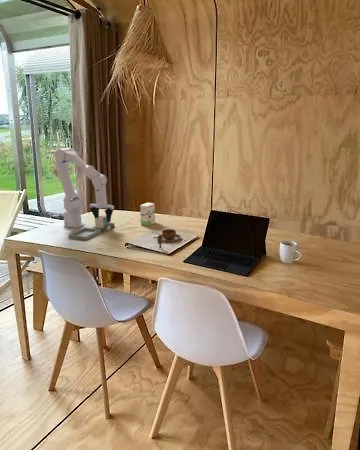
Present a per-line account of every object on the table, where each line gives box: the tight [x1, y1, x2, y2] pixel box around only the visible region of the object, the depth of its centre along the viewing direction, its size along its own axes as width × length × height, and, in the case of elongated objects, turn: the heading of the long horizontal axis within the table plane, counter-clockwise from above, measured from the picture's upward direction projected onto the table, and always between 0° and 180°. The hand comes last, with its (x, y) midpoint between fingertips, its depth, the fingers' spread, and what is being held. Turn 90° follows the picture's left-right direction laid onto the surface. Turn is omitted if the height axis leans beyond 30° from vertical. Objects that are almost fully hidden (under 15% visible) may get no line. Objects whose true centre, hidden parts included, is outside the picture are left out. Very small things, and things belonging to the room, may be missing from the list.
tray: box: [68, 227, 102, 241], centre depth 194 cm, size 11×14×2 cm
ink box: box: [139, 202, 156, 227], centre depth 212 cm, size 9×5×12 cm, turn 153°
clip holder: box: [91, 222, 115, 233], centre depth 206 cm, size 7×12×2 cm, turn 157°
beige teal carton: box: [94, 214, 112, 228], centre depth 205 cm, size 4×9×7 cm, turn 157°
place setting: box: [157, 228, 182, 249], centre depth 183 cm, size 18×20×6 cm
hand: (103, 221), depth 204 cm, fingers open, 7 cm apart
